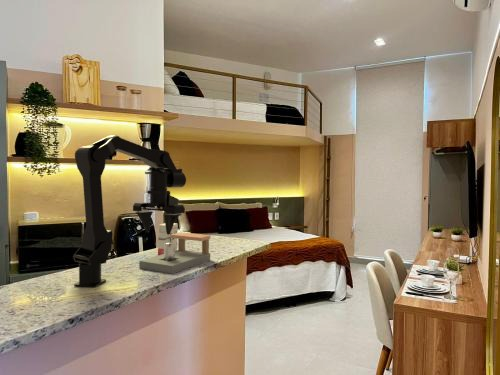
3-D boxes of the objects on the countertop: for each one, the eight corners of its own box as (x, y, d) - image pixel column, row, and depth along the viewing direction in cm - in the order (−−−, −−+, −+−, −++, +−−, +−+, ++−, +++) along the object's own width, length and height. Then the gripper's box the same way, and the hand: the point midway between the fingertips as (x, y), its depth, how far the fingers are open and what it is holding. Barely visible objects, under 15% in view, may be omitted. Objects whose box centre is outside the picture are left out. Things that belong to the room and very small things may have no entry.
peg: (172, 267, 127) (172, 244, 127) (162, 267, 128) (162, 244, 127) (176, 265, 131) (176, 242, 130) (166, 264, 131) (166, 242, 131)
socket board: (172, 273, 120) (172, 245, 119) (139, 268, 126) (139, 241, 126) (210, 260, 139) (210, 235, 139) (180, 255, 146) (180, 232, 145)
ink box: (169, 255, 146) (169, 225, 145) (157, 255, 147) (157, 225, 146) (178, 251, 154) (178, 222, 154) (166, 250, 155) (166, 222, 155)
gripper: (195, 188, 130) (194, 232, 130) (154, 186, 139) (154, 228, 139) (174, 188, 120) (173, 236, 121) (132, 187, 129) (131, 232, 129)
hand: (158, 233), depth 128 cm, fingers open, 9 cm apart
